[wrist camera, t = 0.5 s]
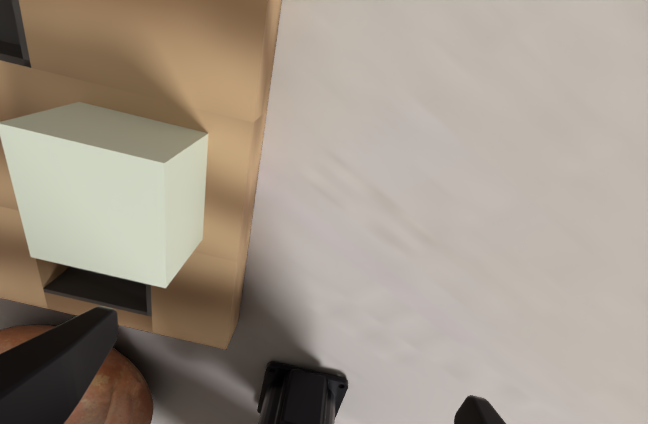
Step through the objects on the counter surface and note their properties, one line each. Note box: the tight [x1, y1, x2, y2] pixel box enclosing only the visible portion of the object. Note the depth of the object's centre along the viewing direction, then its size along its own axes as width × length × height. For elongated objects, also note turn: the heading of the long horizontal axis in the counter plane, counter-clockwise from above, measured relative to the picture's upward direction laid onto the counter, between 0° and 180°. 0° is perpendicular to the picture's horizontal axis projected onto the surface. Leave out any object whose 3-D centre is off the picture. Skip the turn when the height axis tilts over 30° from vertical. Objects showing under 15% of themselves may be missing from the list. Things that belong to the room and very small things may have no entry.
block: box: [0, 102, 208, 288], centre depth 15 cm, size 6×6×4 cm
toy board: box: [0, 0, 282, 350], centre depth 17 cm, size 23×24×4 cm
